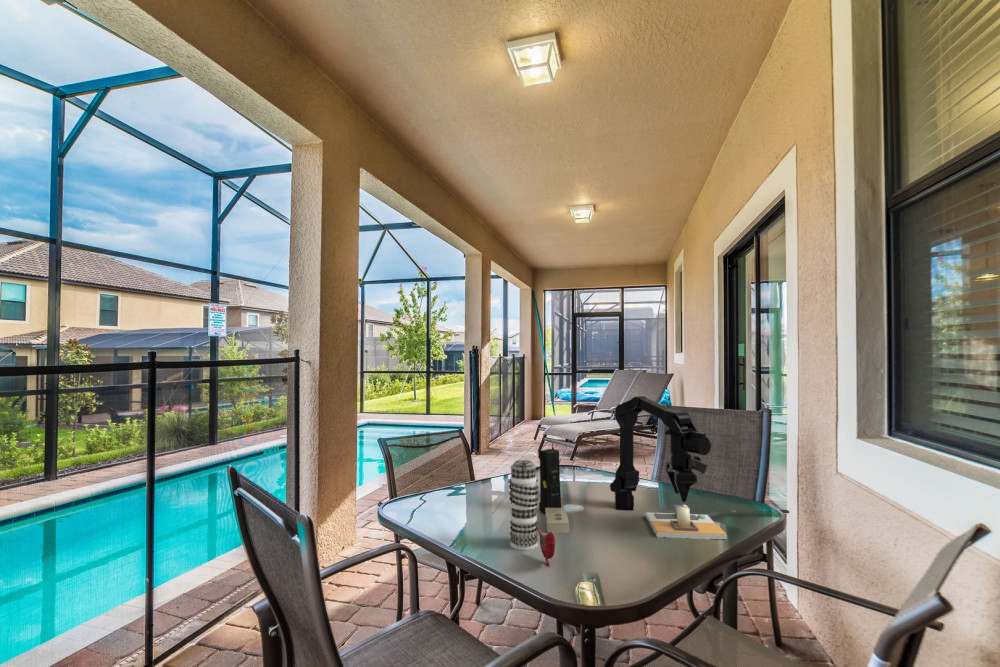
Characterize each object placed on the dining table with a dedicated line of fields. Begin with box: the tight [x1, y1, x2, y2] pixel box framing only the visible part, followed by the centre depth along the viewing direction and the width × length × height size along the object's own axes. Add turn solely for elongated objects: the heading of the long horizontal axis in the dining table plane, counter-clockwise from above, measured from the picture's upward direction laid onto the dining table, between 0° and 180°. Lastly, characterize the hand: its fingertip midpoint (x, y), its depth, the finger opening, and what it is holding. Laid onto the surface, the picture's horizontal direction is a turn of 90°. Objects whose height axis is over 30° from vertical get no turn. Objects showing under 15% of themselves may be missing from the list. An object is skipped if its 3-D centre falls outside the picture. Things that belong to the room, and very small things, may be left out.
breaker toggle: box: [673, 504, 688, 517], centre depth 160 cm, size 4×4×3 cm
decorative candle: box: [508, 459, 539, 551], centre depth 141 cm, size 9×9×25 cm
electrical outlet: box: [544, 507, 570, 534], centre depth 158 cm, size 7×4×18 cm
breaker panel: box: [645, 512, 728, 540], centre depth 154 cm, size 21×20×3 cm
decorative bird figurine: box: [537, 527, 556, 567], centre depth 129 cm, size 3×18×10 cm, turn 9°
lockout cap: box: [676, 506, 691, 528], centre depth 150 cm, size 4×4×6 cm
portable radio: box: [537, 443, 562, 514], centre depth 172 cm, size 8×6×25 cm
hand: (680, 497), depth 152 cm, fingers open, 9 cm apart
